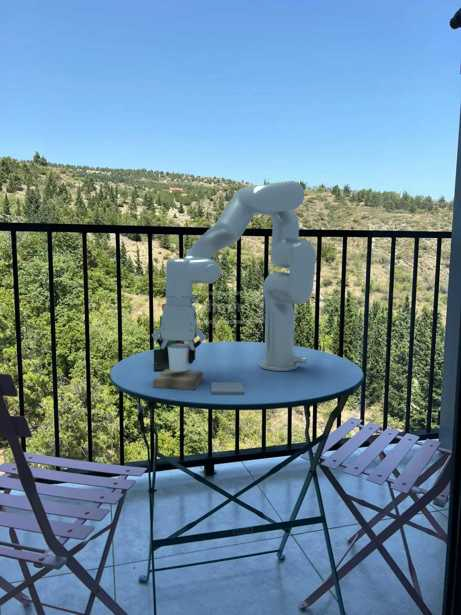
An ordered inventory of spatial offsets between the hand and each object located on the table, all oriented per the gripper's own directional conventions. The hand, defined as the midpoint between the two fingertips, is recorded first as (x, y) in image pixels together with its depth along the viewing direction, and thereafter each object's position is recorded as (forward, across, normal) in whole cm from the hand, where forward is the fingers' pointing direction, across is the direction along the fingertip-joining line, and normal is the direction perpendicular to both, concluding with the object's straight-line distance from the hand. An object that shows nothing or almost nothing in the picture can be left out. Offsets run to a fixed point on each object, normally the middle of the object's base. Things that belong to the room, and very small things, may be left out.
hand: (178, 361), depth 151 cm
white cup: (+3, 0, 0) cm, 3 cm away
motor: (+7, +8, -25) cm, 27 cm away
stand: (+6, 0, 0) cm, 6 cm away
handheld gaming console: (+7, +7, -17) cm, 19 cm away
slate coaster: (+6, -15, +4) cm, 17 cm away
